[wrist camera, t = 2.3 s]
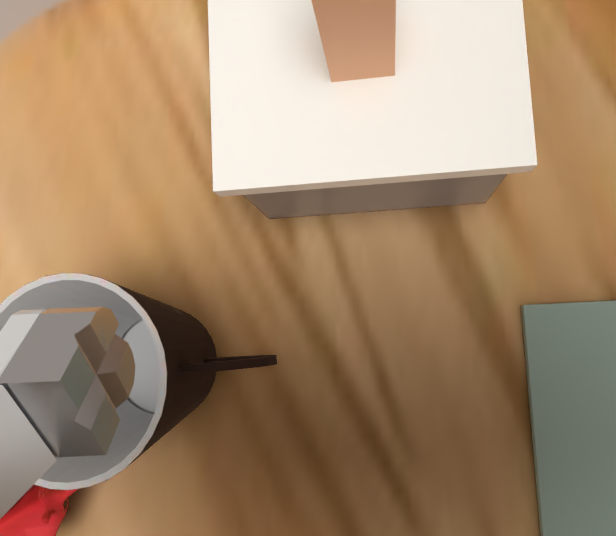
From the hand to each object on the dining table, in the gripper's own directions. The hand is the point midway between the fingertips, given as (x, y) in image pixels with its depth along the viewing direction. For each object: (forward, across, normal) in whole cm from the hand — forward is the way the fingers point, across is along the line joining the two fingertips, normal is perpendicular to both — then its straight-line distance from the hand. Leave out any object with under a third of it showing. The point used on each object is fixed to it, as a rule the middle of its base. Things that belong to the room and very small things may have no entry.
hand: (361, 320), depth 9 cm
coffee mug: (+14, +11, +18) cm, 25 cm away
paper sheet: (+20, 0, 0) cm, 20 cm away
